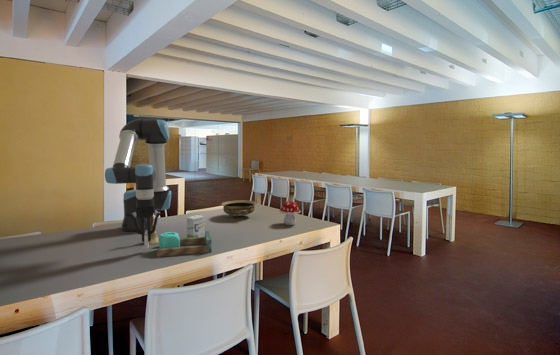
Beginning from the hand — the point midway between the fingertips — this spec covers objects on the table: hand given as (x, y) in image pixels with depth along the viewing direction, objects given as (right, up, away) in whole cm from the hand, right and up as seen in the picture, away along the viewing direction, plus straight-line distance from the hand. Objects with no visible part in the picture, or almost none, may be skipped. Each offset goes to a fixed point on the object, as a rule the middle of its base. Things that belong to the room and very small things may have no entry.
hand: (146, 248), depth 149 cm
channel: (+16, -2, +5) cm, 17 cm away
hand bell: (-4, -1, +16) cm, 16 cm away
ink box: (+17, 0, +24) cm, 29 cm away
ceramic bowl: (+34, +5, +75) cm, 82 cm away
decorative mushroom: (+68, +3, +56) cm, 89 cm away
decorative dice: (+10, -2, +3) cm, 10 cm away
